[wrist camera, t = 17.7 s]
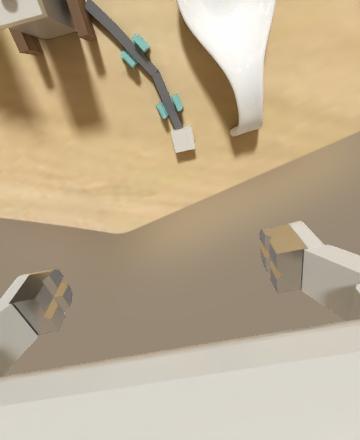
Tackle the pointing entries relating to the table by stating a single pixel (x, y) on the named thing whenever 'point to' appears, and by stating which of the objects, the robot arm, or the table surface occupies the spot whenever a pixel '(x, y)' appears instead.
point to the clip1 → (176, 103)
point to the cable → (180, 134)
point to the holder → (81, 21)
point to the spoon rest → (235, 48)
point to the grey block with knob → (37, 17)
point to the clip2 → (140, 45)
